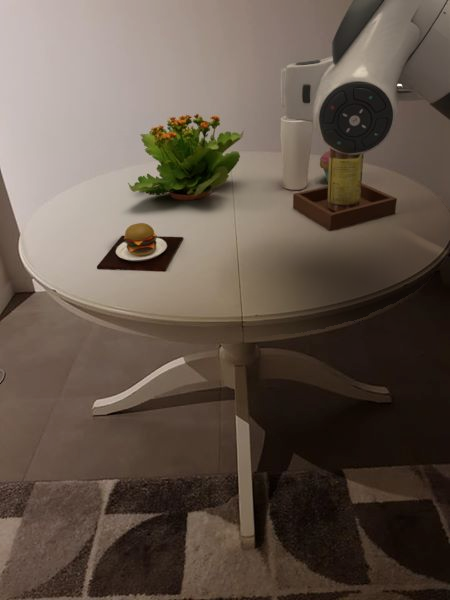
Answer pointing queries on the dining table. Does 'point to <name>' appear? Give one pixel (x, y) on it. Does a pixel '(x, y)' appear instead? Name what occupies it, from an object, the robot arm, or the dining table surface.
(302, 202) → the serving tray
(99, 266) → the hamburger
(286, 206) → the dining table surface
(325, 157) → the cupcake
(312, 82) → the robot arm
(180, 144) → the potted flower
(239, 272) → the dining table surface
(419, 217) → the dining table surface
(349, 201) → the sauce bottle
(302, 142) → the drinking glass
